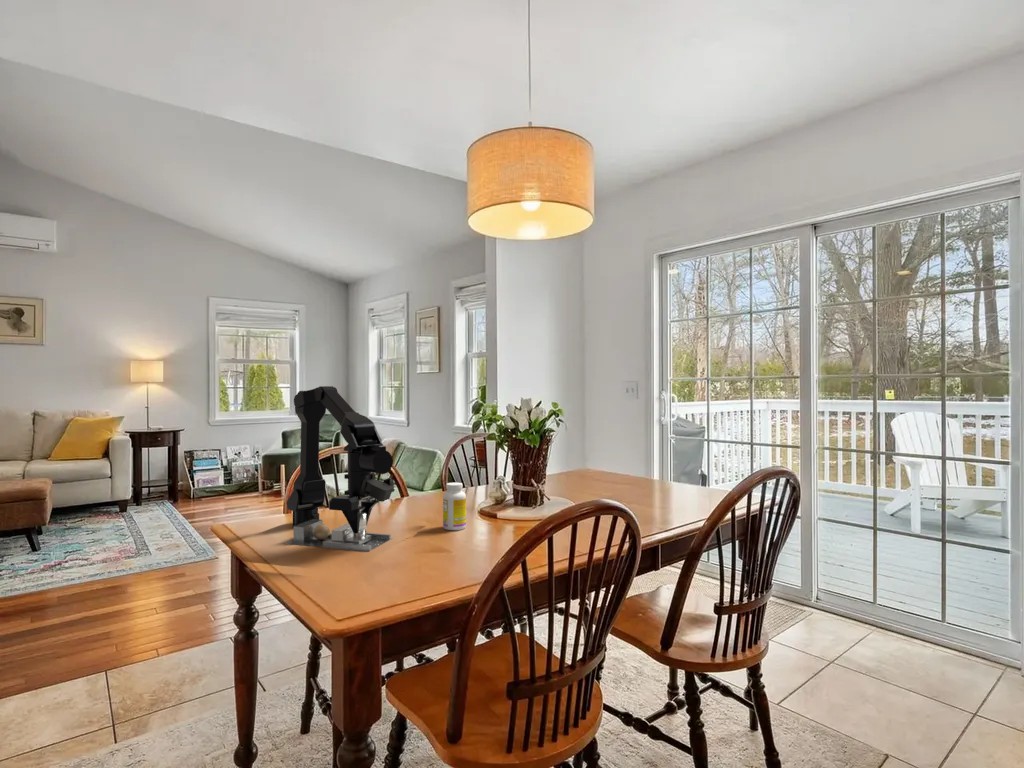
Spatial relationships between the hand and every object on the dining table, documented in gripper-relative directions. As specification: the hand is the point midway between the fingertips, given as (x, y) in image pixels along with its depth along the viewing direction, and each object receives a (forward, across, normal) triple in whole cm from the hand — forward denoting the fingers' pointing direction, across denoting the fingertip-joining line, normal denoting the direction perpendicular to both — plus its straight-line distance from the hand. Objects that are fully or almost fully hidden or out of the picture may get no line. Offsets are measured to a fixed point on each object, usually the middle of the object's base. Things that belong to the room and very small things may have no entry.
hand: (359, 531), depth 146 cm
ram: (+3, 0, +2) cm, 3 cm away
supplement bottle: (+5, +26, -15) cm, 31 cm away
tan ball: (+3, 0, +11) cm, 11 cm away
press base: (+4, 0, +6) cm, 8 cm away
